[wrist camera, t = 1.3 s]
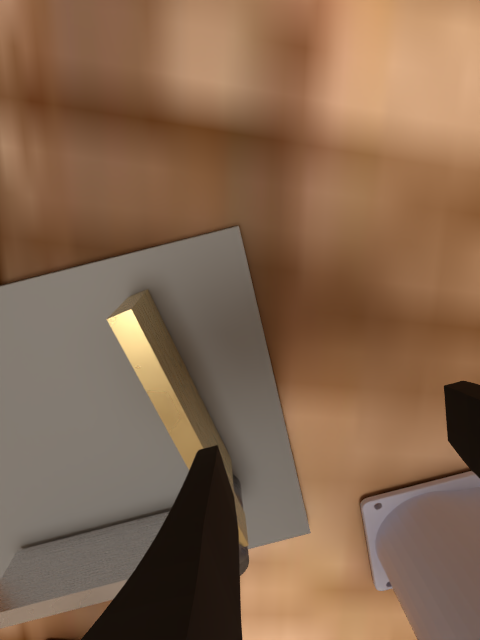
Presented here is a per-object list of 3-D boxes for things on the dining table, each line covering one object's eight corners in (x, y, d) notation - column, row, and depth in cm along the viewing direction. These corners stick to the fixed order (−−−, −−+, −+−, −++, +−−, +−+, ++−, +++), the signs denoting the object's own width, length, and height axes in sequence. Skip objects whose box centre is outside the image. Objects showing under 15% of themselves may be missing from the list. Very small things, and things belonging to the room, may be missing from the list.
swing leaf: (147, 289, 16) (127, 314, 12) (250, 499, 20) (260, 569, 16) (96, 310, 16) (59, 342, 12) (209, 514, 20) (209, 588, 16)
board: (237, 225, 17) (238, 226, 16) (307, 522, 23) (310, 533, 22) (-149, 323, 17) (-166, 328, 16) (20, 596, 23) (13, 609, 22)
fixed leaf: (235, 466, 20) (244, 555, 15) (245, 501, 21) (257, 597, 16) (7, 525, 20) (-63, 634, 15) (26, 558, 21) (-34, 672, 16)
